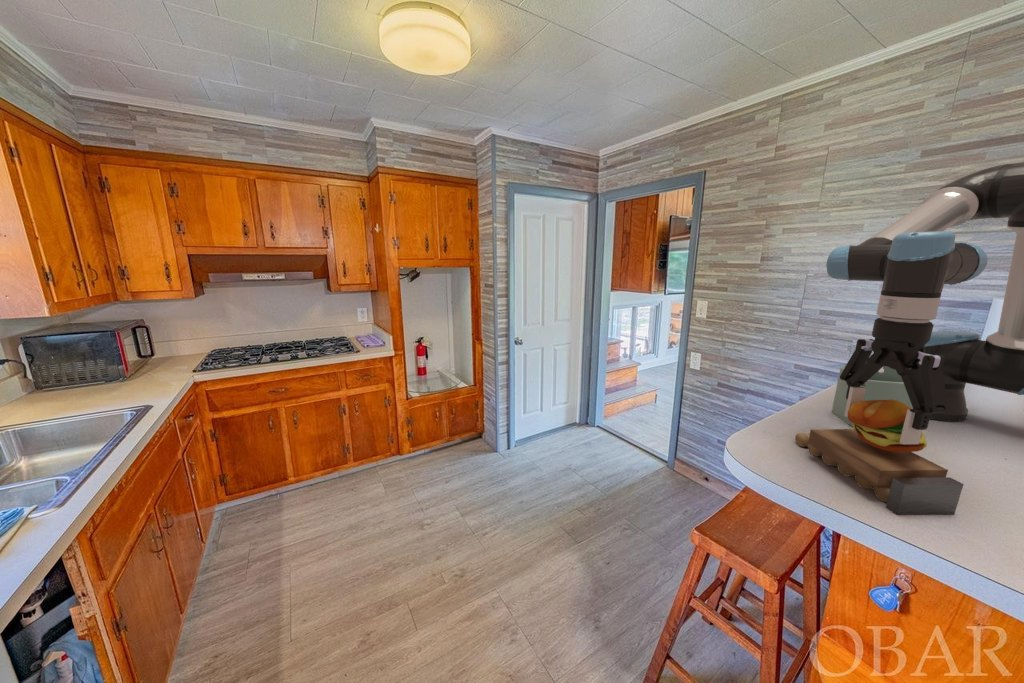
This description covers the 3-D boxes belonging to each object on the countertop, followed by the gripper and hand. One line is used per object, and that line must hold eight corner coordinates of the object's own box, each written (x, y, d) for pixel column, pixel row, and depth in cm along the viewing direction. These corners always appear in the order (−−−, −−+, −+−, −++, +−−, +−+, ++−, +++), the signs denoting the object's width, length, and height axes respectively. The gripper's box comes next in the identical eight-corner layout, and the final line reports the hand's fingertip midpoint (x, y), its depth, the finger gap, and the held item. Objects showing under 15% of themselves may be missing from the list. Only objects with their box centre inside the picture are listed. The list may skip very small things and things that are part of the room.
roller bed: (827, 442, 89) (829, 430, 88) (932, 505, 66) (936, 490, 66) (794, 442, 89) (796, 431, 88) (888, 505, 66) (892, 490, 66)
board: (861, 443, 82) (864, 428, 81) (943, 487, 66) (948, 470, 66) (807, 443, 82) (810, 429, 81) (876, 487, 67) (880, 470, 66)
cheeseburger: (938, 462, 65) (933, 410, 64) (858, 459, 71) (851, 411, 70) (917, 438, 73) (911, 390, 72) (846, 437, 79) (840, 393, 78)
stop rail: (941, 506, 66) (950, 477, 65) (954, 514, 64) (963, 484, 63) (885, 507, 66) (892, 477, 65) (896, 514, 64) (904, 484, 63)
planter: (819, 417, 102) (832, 349, 98) (832, 411, 106) (845, 345, 101) (900, 442, 88) (920, 364, 84) (912, 434, 92) (931, 359, 87)
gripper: (830, 310, 79) (812, 405, 84) (957, 332, 56) (923, 461, 61) (865, 309, 78) (845, 405, 84) (1007, 331, 56) (968, 460, 61)
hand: (878, 428), depth 72 cm, fingers closed on cheeseburger, 11 cm apart
